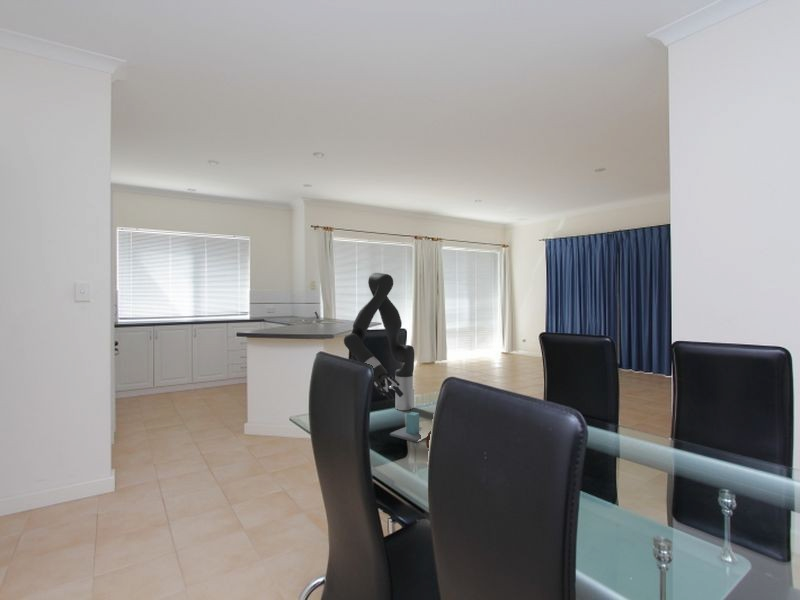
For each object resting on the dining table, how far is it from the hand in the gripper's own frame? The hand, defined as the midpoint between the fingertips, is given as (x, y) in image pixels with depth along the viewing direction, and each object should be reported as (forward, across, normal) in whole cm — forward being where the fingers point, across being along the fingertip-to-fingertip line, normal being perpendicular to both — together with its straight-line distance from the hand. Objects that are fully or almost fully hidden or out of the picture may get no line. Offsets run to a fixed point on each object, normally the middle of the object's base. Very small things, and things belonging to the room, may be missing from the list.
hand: (397, 397), depth 180 cm
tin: (+28, -9, -7) cm, 30 cm away
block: (+15, 0, +4) cm, 16 cm away
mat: (+16, 0, +5) cm, 17 cm away
